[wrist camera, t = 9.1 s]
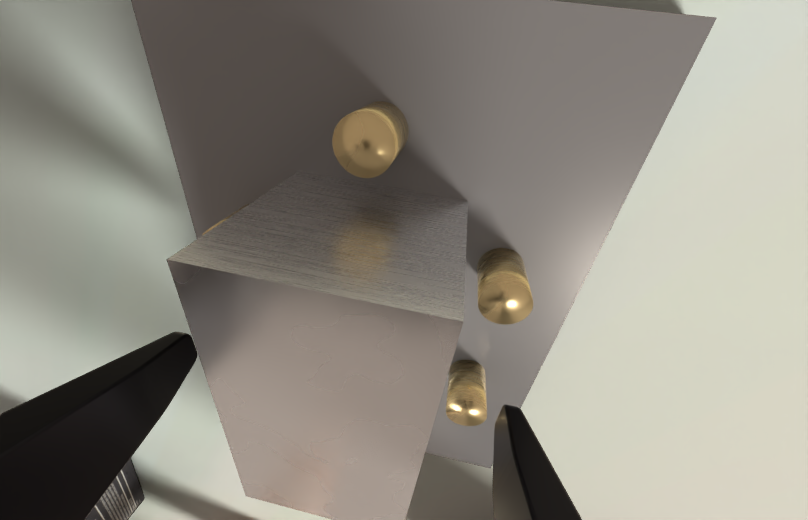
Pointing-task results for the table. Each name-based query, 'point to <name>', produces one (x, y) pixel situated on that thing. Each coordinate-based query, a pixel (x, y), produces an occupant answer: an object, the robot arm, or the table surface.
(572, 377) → the table surface
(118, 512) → the small box
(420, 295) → the block
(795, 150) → the table surface
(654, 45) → the pin tray
